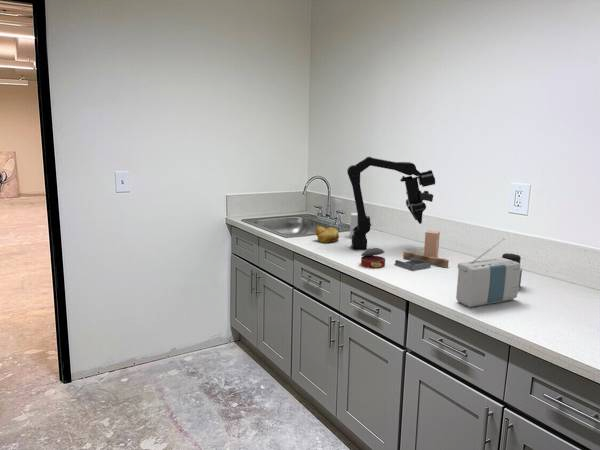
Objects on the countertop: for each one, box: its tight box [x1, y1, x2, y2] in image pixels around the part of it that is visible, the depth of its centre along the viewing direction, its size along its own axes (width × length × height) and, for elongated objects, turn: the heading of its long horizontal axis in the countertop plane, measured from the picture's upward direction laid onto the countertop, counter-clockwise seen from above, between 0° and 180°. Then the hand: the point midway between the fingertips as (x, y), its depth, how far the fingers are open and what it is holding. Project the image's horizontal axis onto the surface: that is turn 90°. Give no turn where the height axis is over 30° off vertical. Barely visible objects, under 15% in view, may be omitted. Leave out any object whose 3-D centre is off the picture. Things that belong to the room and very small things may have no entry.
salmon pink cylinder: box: [423, 229, 441, 258], centre depth 207 cm, size 5×5×12 cm
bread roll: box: [314, 225, 340, 244], centre depth 238 cm, size 13×10×8 cm
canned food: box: [360, 247, 386, 269], centre depth 195 cm, size 11×10×10 cm
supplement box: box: [349, 212, 357, 240], centre depth 247 cm, size 7×7×13 cm
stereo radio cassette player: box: [455, 238, 521, 308], centre depth 153 cm, size 21×8×20 cm, turn 115°
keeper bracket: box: [393, 257, 432, 271], centre depth 195 cm, size 10×10×2 cm
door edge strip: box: [402, 250, 450, 269], centre depth 201 cm, size 20×2×3 cm, turn 47°
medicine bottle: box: [501, 252, 523, 288], centre depth 170 cm, size 7×7×12 cm
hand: (418, 221), depth 220 cm, fingers open, 9 cm apart
